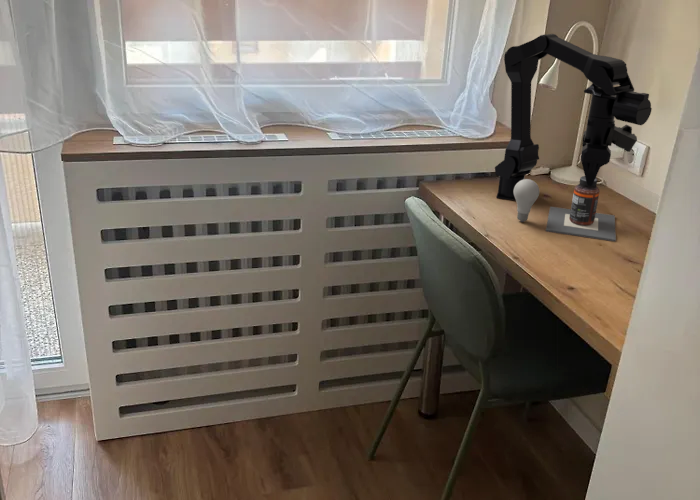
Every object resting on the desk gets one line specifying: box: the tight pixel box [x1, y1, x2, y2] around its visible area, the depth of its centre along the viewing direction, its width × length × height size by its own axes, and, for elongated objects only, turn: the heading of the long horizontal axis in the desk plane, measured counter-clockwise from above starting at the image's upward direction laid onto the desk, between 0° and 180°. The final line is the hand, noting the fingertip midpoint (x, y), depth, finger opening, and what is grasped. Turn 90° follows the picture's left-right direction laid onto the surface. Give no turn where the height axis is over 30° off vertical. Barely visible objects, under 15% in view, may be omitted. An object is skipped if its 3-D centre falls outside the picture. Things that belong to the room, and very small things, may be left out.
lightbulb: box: [513, 178, 540, 223], centre depth 169 cm, size 6×6×11 cm
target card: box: [545, 206, 617, 243], centre depth 171 cm, size 16×16×1 cm
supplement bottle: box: [569, 175, 600, 225], centre depth 168 cm, size 6×6×11 cm
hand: (589, 179), depth 166 cm, fingers open, 9 cm apart
